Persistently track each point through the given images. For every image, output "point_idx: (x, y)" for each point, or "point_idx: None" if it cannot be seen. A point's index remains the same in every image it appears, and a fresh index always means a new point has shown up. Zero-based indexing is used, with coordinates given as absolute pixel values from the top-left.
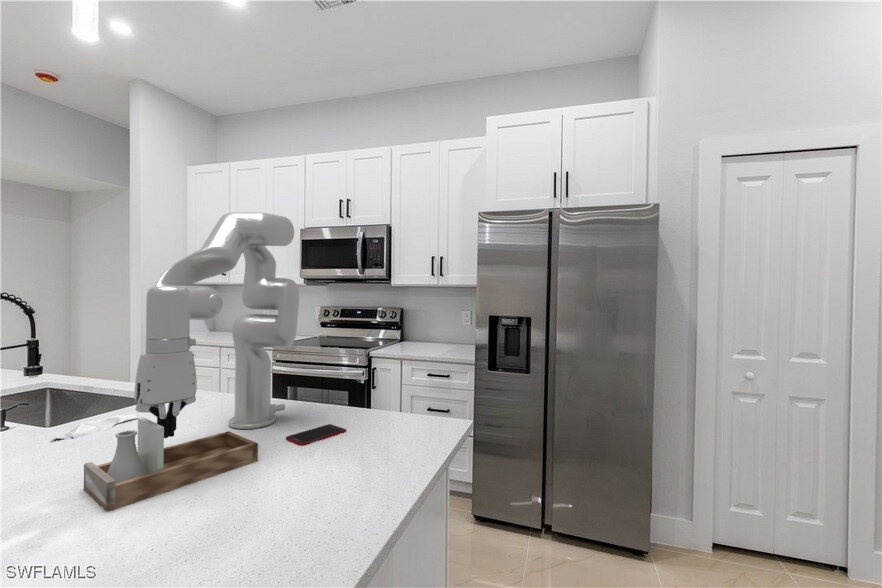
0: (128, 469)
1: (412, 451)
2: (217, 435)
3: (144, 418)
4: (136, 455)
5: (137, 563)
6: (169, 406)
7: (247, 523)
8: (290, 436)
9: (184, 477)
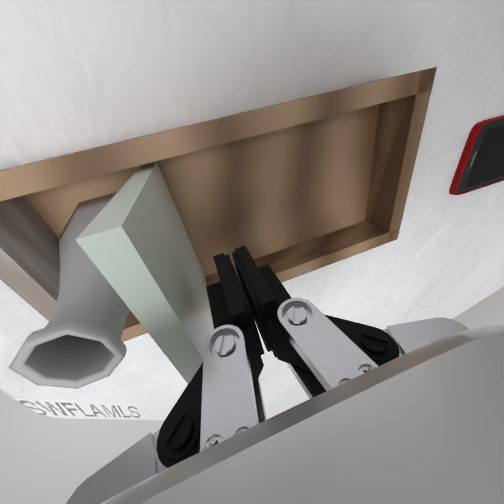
0: None
1: (468, 289)
2: (392, 95)
3: (135, 265)
4: None
5: None
6: (305, 358)
7: (272, 373)
8: (487, 127)
9: None
